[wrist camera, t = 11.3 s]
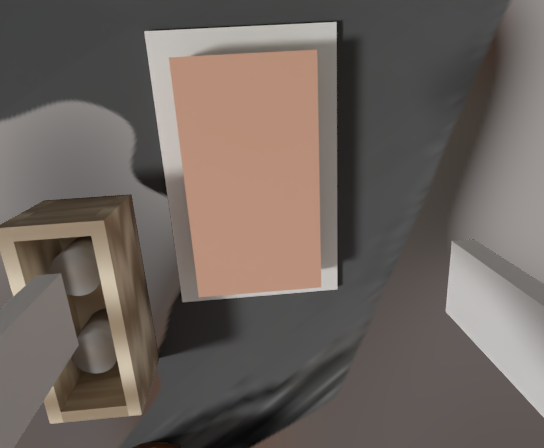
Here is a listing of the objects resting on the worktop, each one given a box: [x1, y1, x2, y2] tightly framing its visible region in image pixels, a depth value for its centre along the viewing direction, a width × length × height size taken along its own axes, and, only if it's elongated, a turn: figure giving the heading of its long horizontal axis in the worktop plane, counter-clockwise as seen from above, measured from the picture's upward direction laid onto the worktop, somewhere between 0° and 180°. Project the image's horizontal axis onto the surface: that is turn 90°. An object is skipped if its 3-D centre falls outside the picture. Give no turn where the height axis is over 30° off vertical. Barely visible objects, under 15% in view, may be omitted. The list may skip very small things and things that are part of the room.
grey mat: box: [144, 22, 337, 302], centre depth 33 cm, size 22×14×1 cm, turn 3°
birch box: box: [0, 195, 159, 424], centre depth 32 cm, size 16×7×7 cm, turn 3°
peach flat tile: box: [169, 50, 321, 297], centre depth 31 cm, size 18×10×3 cm, turn 3°
